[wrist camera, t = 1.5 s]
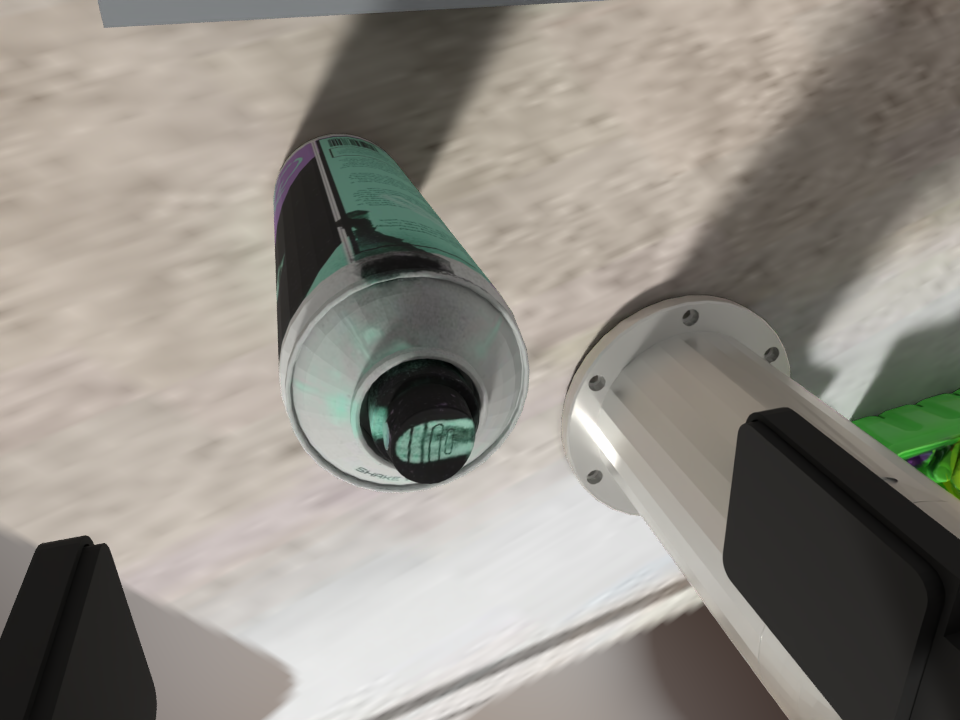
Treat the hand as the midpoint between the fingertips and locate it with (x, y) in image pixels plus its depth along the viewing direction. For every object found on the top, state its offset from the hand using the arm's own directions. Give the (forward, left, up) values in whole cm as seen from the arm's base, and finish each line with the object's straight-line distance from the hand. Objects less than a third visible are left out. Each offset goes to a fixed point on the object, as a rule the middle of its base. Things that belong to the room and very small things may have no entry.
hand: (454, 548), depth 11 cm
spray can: (0, 0, -23) cm, 23 cm away
